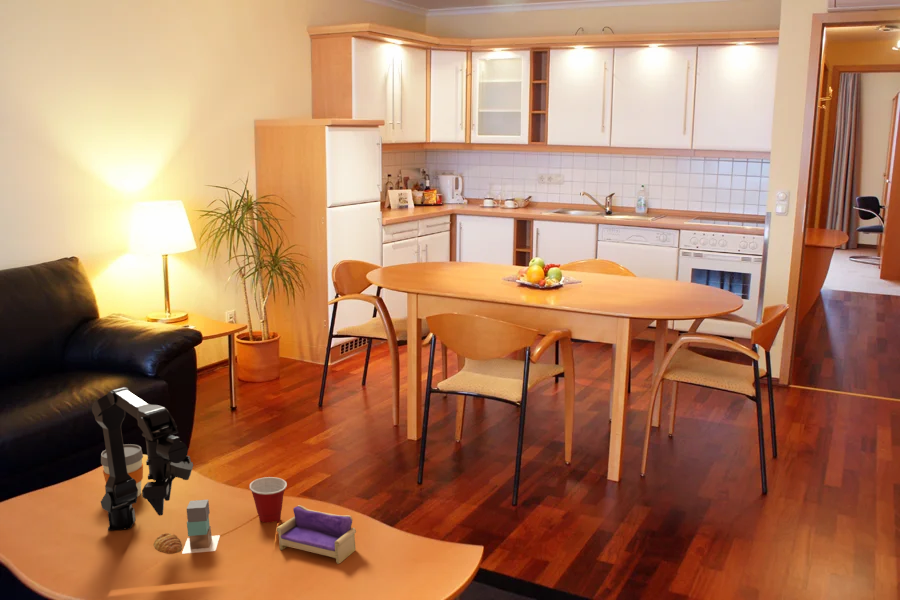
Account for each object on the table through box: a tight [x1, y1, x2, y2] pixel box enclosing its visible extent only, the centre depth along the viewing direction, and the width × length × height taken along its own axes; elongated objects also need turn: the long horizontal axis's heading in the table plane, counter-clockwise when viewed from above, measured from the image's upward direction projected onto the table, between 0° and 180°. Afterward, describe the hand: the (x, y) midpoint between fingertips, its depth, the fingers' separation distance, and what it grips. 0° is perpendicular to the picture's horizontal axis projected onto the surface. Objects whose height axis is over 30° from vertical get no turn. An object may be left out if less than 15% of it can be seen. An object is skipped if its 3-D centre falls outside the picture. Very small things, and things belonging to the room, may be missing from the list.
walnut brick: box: [188, 525, 213, 549], centre depth 231 cm, size 5×5×4 cm
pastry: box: [153, 532, 183, 555], centre depth 231 cm, size 9×7×4 cm
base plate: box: [181, 534, 221, 555], centre depth 232 cm, size 9×9×1 cm
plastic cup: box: [249, 476, 288, 524], centre depth 246 cm, size 11×11×12 cm
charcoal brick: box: [186, 499, 211, 522], centre depth 230 cm, size 5×5×4 cm
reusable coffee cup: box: [100, 443, 144, 498], centre depth 267 cm, size 13×13×15 cm
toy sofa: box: [276, 504, 357, 565], centre depth 228 cm, size 21×9×10 cm, turn 63°
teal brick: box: [186, 515, 211, 537], centre depth 230 cm, size 5×5×4 cm
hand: (164, 507), depth 228 cm, fingers open, 9 cm apart
